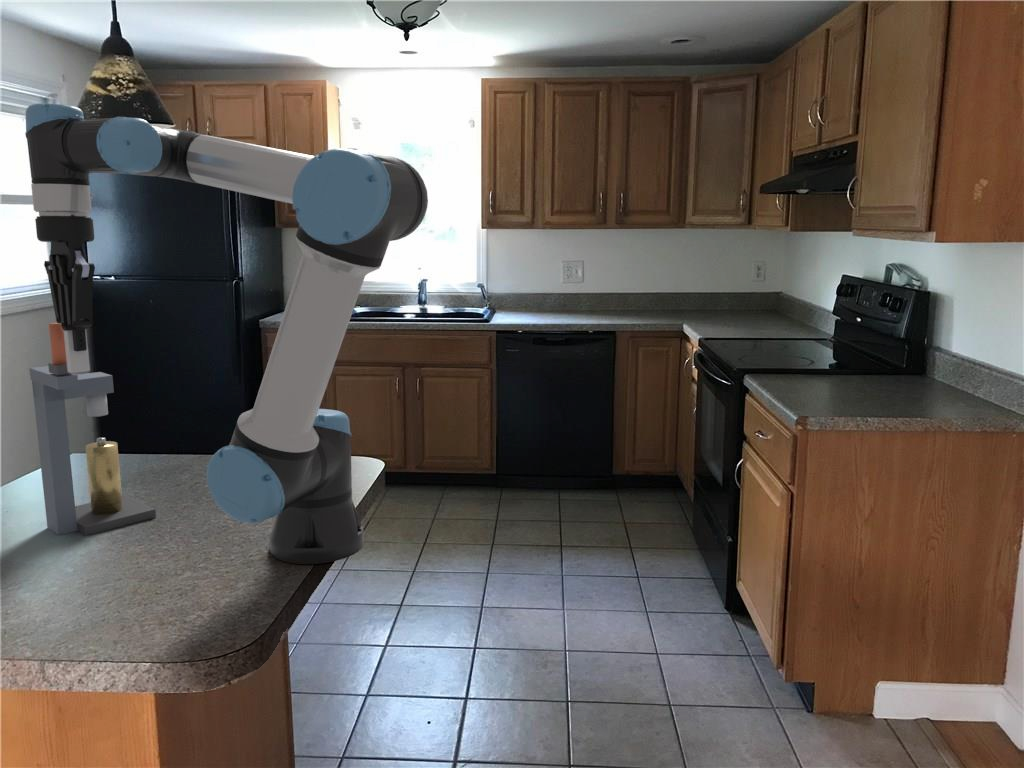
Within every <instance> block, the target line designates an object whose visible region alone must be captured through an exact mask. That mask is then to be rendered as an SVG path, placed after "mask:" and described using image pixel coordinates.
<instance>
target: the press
mask: <svg viewBox="0 0 1024 768" xmlns="http://www.w3.org/2000/svg"><path fill="white" fill-rule="evenodd" d="M28 369H29V375H30V376H29V377H30V381H31V386H32V393H33V403H34V411H35V423H36V424H35V425H36V432H37V433H36V434H37V441H38V442H37V443H38V451H39V460H40V468H41V469H40V470H41V480H42V489H43V499H44V507H45V516H46V519H45V520H46V526H47V527H46V528H47V529H48V530H49V531H51V532H53V533H55V534H56V535H57V536H62V535H65V534H68V533H73V532H77V531H78V532H79V533H81V534H82V535H84V536H89V535H93V534H96V533H101V532H105V531H108V530H109V531H110V530H112V529H116V528H120V527H124V526H128V525H132V524H135V523H138V522H139V523H140V522H143V521H148V520H150V519H155V518H157V514H156V509H155V508H153V507H152V506H150V505H148V504H146V503H144V502H142V501H140V500H138V499H136V498H134V497H133V496H130V495H128V494H122V503H123V509H122V510H121V511H119V512H116V513H112V514H106V515H97V514H93V513H92V510H91V502H88V503H83V504H80V505H79V504H78V505H76V501H75V494H74V493H75V492H74V482H73V474H72V473H73V472H72V462H71V454H70V452H71V451H70V443H69V442H70V441H69V433H68V432H69V431H68V420H67V413H66V401H65V400H70V399H71V400H72V399H76V398H85V402H86V414H87V416H88V417H90V418H94V417H103V416H104V417H105V416H107V415H109V408H108V397H107V396H108V395H107V394H113V393H115V390H114V378H113V375H112V374H108V373H105V372H102V371H97V372H96V371H95V372H89V373H79V374H76V373H72V374H63V375H56V374H53V373H50V372H49V366H48V365H45V366H36V367H29V368H28Z"/></svg>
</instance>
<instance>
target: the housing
mask: <svg viewBox="0 0 1024 768" xmlns="http://www.w3.org/2000/svg"><path fill="white" fill-rule="evenodd" d="M118 445H119V444H118V442H116V441H111V440H108V441H107V439H106V437H97V438H96V442H91V443H88V444H86V445H85V455H86V456H85V457H86V465H87V468H86V469H87V476H88V477H87V479H88V485H89V486H88V488H89V497H90V503H91V510H92V513H93V514H97V515H106V514H112V513H116V512H119V511H121V510H122V509H123V503H122V495H123V493H122V492H123V491H122V483H121V473H120V472H121V470H120V461H119V460H120V458H119V447H118Z"/></svg>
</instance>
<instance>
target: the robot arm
mask: <svg viewBox="0 0 1024 768" xmlns="http://www.w3.org/2000/svg"><path fill="white" fill-rule="evenodd" d="M24 134H25V138H26V142H27V144H26V145H27V151H28V162H29V170H30V177H31V185H30V186H31V187H30V188H31V196H32V206H33V211H34V212H36V213H38V216H37V215H36V218H34V221H35V229H36V238H37V240H38V241H39V242H42V243H50V253H49V254H50V255H49V257H48V258H49V259H48V260H44V264H43V266H44V268H45V269H44V270H45V271H46V275H47V278H48V279H47V280H48V284H49V289H50V295H51V298H52V299H51V300H52V304H53V305H52V306H53V309H54V310H53V311H54V316H55V322H56V323H58V324H59V323H61V326H62V328H63V330H64V340H65V350H66V360H67V371H68V372H70V373H73V374H76V373H81V372H82V373H84V372H85V373H86V372H91V365H90V357H89V356H90V355H89V345H88V333H87V330H88V328H89V327H91V326H93V315H94V313H93V311H94V310H93V308H94V305H93V304H94V302H93V301H94V298H93V297H94V275H95V270H96V265H95V264H94V263H93V262H92V263H91V262H90V263H89V262H88V256H87V254H86V251H85V247H84V243H88V242H90V243H91V242H93V241H94V240H95V229H94V228H95V227H94V219H93V218H92V217H91V216H88V214H89V213H91V212H92V200H93V198H94V194H93V193H92V192H91V188H90V187H91V186H90V185H91V183H90V174H121V175H122V174H123V175H131V176H132V175H135V176H147V177H159V178H167V179H174V180H180V181H184V182H188V183H189V182H190V183H194V184H199V185H205V186H210V187H215V188H219V189H222V190H228V191H232V192H237V193H240V194H246V195H251V196H254V197H255V196H256V197H260V198H264V199H268V200H273V201H277V202H282V203H287V204H292V208H293V210H295V213H296V214H295V215H296V216H295V217H296V221H297V222H298V228H297V231H296V234H295V238H294V239H295V240H296V243H297V244H298V247H299V248H300V249H301V252H302V256H301V259H300V261H299V265H298V267H297V271H296V274H295V277H294V281H293V284H292V287H291V289H290V293H289V296H288V299H287V301H286V305H285V308H284V312H283V315H282V318H281V321H280V323H279V327H278V330H277V334H276V336H275V340H274V343H273V345H272V349H271V352H270V355H269V357H268V362H267V365H266V368H265V371H264V374H263V375H262V376H263V377H262V380H261V383H260V386H259V389H258V391H257V396H256V399H255V402H254V406H253V408H251V409H249V410H247V411H245V412H242V413H240V415H239V417H237V418H238V419H237V421H236V425H235V427H234V430H233V434H232V436H231V440H230V442H229V444H228V445H226V446H223V447H221V448H220V449H217V451H216V452H215V453H214V454H213V455H212V456H211V458H210V459H209V461H208V463H207V466H206V474H205V476H206V484H207V488H208V491H209V493H210V494H211V496H212V497H213V500H214V501H213V502H215V504H216V505H217V507H218V508H219V509H220V510H221V511H222V512H224V514H226V515H227V516H229V517H230V518H231V519H234V520H235V521H238V522H240V523H246V524H257V523H261V522H264V521H266V520H268V519H273V518H274V520H273V524H272V529H271V532H270V535H269V552H270V554H271V556H272V557H274V558H275V559H277V560H279V561H281V562H282V561H283V562H284V563H288V564H296V565H319V564H320V565H321V564H326V563H327V564H328V563H333V562H337V561H340V560H344V559H346V558H349V557H352V556H353V555H355V554H357V553H358V552H360V550H362V549H363V547H364V545H365V534H364V533H365V532H364V527H363V525H362V523H361V519H360V516H359V514H358V512H357V509H356V506H355V503H354V501H353V487H352V486H353V484H352V483H353V481H352V480H353V479H352V445H351V443H352V440H351V439H352V432H351V427H350V424H351V423H350V418H349V417H348V415H347V414H346V413H345V412H343V411H340V410H336V409H327V408H320V406H321V404H322V401H323V398H324V396H325V393H326V390H327V386H328V385H329V380H330V378H331V376H332V372H333V369H334V366H335V364H336V361H337V358H338V355H339V352H340V349H341V347H342V343H343V340H344V338H345V335H346V333H347V329H348V327H349V324H350V320H351V319H352V318H351V317H352V314H353V312H354V309H355V307H356V305H357V304H356V303H357V300H358V298H359V294H360V291H361V290H362V286H363V283H364V281H365V278H366V276H367V275H368V274H370V273H372V272H375V271H377V270H379V269H380V268H381V266H382V264H383V261H384V259H385V255H386V253H387V249H388V247H389V243H390V242H392V241H394V242H395V241H398V240H401V239H404V238H406V237H408V236H409V235H411V234H412V233H414V232H415V231H416V230H417V229H418V227H419V226H420V225H421V224H422V222H423V220H424V219H425V216H426V215H427V214H426V213H427V211H428V210H427V209H428V204H429V199H428V198H429V196H428V190H427V187H426V184H425V181H424V180H423V177H422V176H421V175H420V173H419V172H418V171H417V169H416V168H414V167H413V165H411V164H410V163H408V162H407V161H405V160H403V159H401V158H398V157H394V156H389V155H385V154H384V155H383V154H379V153H375V152H371V151H366V150H362V149H359V148H356V147H348V148H332V149H327V150H325V151H322V152H321V153H318V154H316V155H310V154H305V153H300V152H294V151H289V150H285V149H279V148H274V147H269V146H263V145H257V144H254V143H249V142H245V141H244V142H243V141H238V140H234V139H229V138H223V137H217V136H213V135H208V134H201V133H197V132H195V131H192V130H186V129H177V128H171V127H170V128H169V127H165V126H157V125H153V124H150V122H148V121H147V120H145V119H143V118H140V117H126V116H116V117H110V118H107V117H106V118H105V117H104V118H90V119H89V118H87V119H86V118H85V116H84V112H83V110H82V109H81V108H79V107H77V106H74V105H68V104H61V103H60V104H59V103H34V104H30V105H29V106H27V107H26V110H25V133H24Z"/></svg>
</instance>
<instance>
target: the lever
mask: <svg viewBox="0 0 1024 768" xmlns="http://www.w3.org/2000/svg"><path fill="white" fill-rule="evenodd" d="M48 332H49V339H50V340H49V341H50V349H51V361H52V362H48V363H47V364H48V365H47V366H49V372H50V373H53V374H56V375H63V374H72V373H70V372H68V371H67V360H66V350H65V340H64V330H63V328H62V326H61V323H59V324H58V323H57V322H49V323H48Z"/></svg>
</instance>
